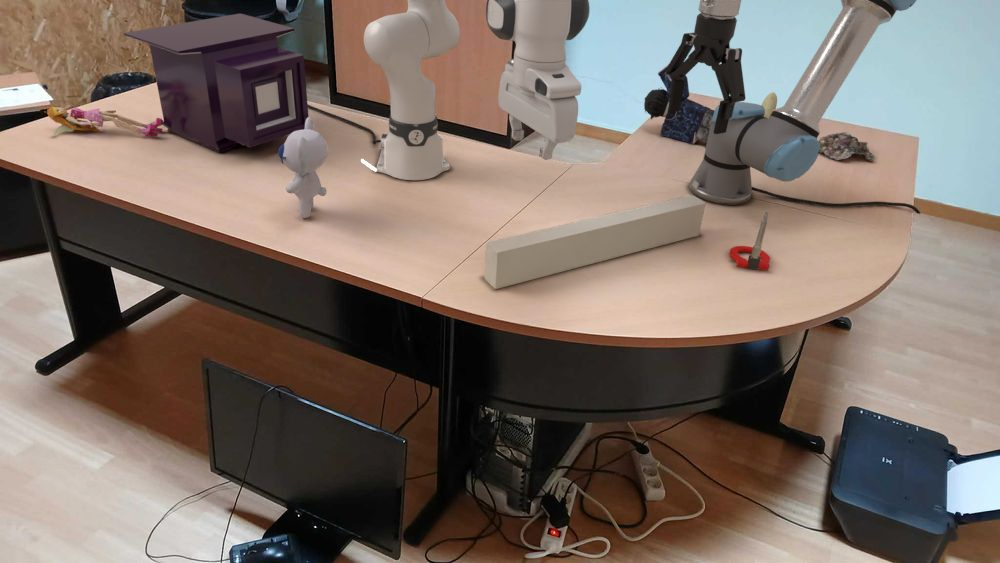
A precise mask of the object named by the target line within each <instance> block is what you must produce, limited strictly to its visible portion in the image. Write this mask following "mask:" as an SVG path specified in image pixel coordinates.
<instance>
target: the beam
mask: <svg viewBox="0 0 1000 563" xmlns="http://www.w3.org/2000/svg"><path fill="white" fill-rule="evenodd" d="M706 206H707V202H706V201H705V200H703V199H701V198H699V197H698V196H696V195H693V194H691V195H687V196H683V197H682V196H681V197H678V198H674V199H670V200H669V199H668V200H665V201H661V202H656V203H652V204H648V205H643V206H637V207H634V208H630V209H626V210H621V211H617V212H612V213H608V214H604V215H599V216H595V217H591V218H585V219H583V220H582V219H581V220H578V221H574V222H569V223H563V224H560V225H555V226H551V227H547V228H543V229H538V230H533V231H529V232H525V233H520V234H517V235H512V236H508V237H504V238H498V239H495V240H491V241H490V240H489V241H486V242H485V258H484V272H483V273H484V274H483V276H484V278H483V279H484V280H485V281H486V282H487V283H488V284H489V285H490V286H491V287H492V288H493V289H494V290H498V289H501V288H505V287H509V286H513V285H518V284H520V283H525V282H529V281H532V280H537V279H540V278H543V277H547V276H551V275H555V274H560V273H562V272H567V271H570V270H573V269H577V268H582V267H585V266H589V265H592V264H597V263H600V262H604V261H608V260H612V259H615V258H619V257H623V256H627V255H630V254H634V253H637V252H642V251H645V250H650V249H653V248H656V247H661V246H664V245H669V244H672V243H676V242H680V241H683V240H684V241H685V240H688V239H691V238H695V237H698V236H700V232H701V228H702V223H703V220H704V216H705V215H704V214H705V211H706Z"/></svg>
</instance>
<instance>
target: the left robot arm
mask: <svg viewBox="0 0 1000 563" xmlns="http://www.w3.org/2000/svg"><path fill="white" fill-rule="evenodd" d="M406 2H407V10H406V12H401V13H395V14H388V15H384V16H382V17H380V18H378V19H376V20H374V21H371V22H369V23H368V24H367V26H366V27H365V30H364V33H363V46H364V50H365V52H366V54H367V56H368V57H369V59H370V60H371V61H372V62H373V63H374V64H376V65H377V66H378V67H379V68H380V69H381V70H382V71H383V73H384V75H385V78H386V80H387V84H388V88H389V101H390V102H389V103H390V104H389V105H390V115H389V117H388V130H389V131H388V133H382V134H381V137H380V139H377V138H376V134H375V132H374V131H373V130H372V129H370V128H368V127H366V126H365V125H361V124H359V123H357V122H354V121H352V120H349V119H347V118H344V117H342V116H339V115H336V114H334V113H331V112H328V111H325V110H323V109H320V108H318V107H315V106H312V105H310V104H308V109H311V110H314V111H317V112H320V113H321V114H325V115H327V116H329V117H332V118H335V119H338V120H341V121H343V122H346V123H348V124H351V125H353V126H356V127H357V128H360V129H363V130H365V131H367V132H369V133H370V134H371V135H372V144H373V145H376V143H380V148H381V151H380V155H379V157H378V160H377V164H376V167H375V166H373V165H372V164H371V163H369V162H367V161H366V160H364V158H361V159H360V162H361V163H362V164H364V165H365V166H366V167H368V168H369V169H370V170H372V171H374V172H378V173H381V174H384V175H385V174H386V175H388V176H391V177H392V178H396V179H399V180H405V181H424V180H429V179H433V178H435V177H437V176H439V175H440V174H441V173H443V172H446V171H449V170H450V169H451V166H450V164H449V163H448V161H447V160H446V159H445V158H444V140H443V138H442V137H441V136H440V135H439V134H438V125H439V122H438V116H437V114H436V113H437V112H436V111H437V88H436V85H435V84H434V82H433V81H432V80H431V79H429V78H428V77H427V76H424V75H423V73H422V69H421V61H423V60H427V59H432V58H438V57H441V56H443V55H445V54H447V53H449V52H450V51H452V50H454V49H455V48H457V46H458V44H459V41H460V36H461V29H460V25H459V22H458V20H457V18H456V17H455V15H454V14H453V13H452V12H451V11H450V10H449V8H448V6H447V4H446V0H406ZM589 18H590V2H589V0H487V1H486V8H485V19H486V25H487V27H488V29H489V30H490V32H492V34H494V36H496V37H497V38H498V39H499V40H503V41H511V42H512V41H513V42H514V43H515V48H514V52H513V58H511V59H510V60H508V61H507V62H506V63H505V66H504V71H503V72H502V73H501V77H500V81H499V86H498V93H497V104H498V107H499V109H500V110H503V111H504V112H506V113H507V114H508V115H509V116H508V120H509V125H510V128H511V139H513V140H514V141H516V142H519V141H523V140H524V138H525V136H524V135H525V130H524V129H523V125H522V123H523V124H524V125H526V126H527V127H529V128H530V129H532V130H533V131H535V132H537V133H538V134H539V135H541V136H543V141H544V145H543V147H540V148H539V155H538V156H539V157H540V158H541V159H542V160H544V161H547V160H548V161H549V160H552V158H553V152H554V150H555V148H556V146H557V145H558V144H562V143H570V142H571V141H572V140H573V139H574V137H575V135H576V130H577V125H578V116H579V102H578V99H577V97H576V96H580V95H581V93H582V84H581V82H580V81H579V79H578V78H577V77H576V76H575V75H574V73H573V72H572V71H571V69H570V67H569V66H568V65H567V64H566V63H567V50H566V42H567V41H572V40H574V39H575V38H576V37H577V36H578V35H579V34H580V33H581V32H582V30H583V29H584V28H585V27H586V24H587V22H588V20H589Z"/></svg>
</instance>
